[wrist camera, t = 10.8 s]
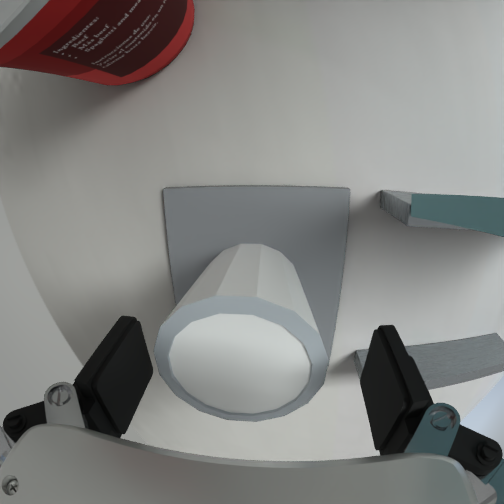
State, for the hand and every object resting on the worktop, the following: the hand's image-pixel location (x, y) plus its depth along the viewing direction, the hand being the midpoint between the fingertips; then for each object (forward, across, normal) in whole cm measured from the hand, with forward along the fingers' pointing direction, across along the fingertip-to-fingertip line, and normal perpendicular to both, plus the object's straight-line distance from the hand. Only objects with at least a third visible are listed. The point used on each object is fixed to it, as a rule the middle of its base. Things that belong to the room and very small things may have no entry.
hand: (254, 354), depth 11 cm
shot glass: (+7, +1, +1) cm, 7 cm away
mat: (+7, 0, +1) cm, 7 cm away
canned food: (+7, +7, -15) cm, 18 cm away
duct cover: (-3, -14, -6) cm, 15 cm away
